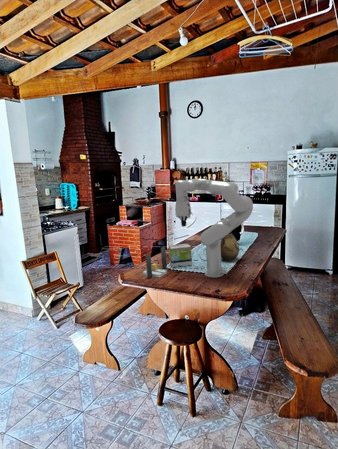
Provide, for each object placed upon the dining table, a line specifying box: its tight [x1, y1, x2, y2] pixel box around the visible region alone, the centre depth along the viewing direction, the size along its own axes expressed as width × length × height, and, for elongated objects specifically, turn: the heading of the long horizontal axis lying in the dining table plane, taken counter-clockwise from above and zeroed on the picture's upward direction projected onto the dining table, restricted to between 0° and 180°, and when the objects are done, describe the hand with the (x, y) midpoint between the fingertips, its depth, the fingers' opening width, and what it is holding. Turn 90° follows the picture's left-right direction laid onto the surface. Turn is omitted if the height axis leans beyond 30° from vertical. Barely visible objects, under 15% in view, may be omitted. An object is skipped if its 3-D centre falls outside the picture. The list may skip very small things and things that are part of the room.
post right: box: [160, 246, 168, 271], centre depth 218 cm, size 3×3×16 cm
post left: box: [145, 253, 153, 279], centre depth 204 cm, size 3×3×16 cm
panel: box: [142, 267, 168, 279], centre depth 212 cm, size 14×9×3 cm, turn 56°
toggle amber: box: [151, 263, 159, 271], centre depth 213 cm, size 3×3×4 cm
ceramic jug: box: [221, 231, 240, 263], centre depth 228 cm, size 17×15×30 cm
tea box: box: [168, 243, 193, 269], centre depth 225 cm, size 15×10×15 cm
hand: (183, 226), depth 206 cm, fingers closed
